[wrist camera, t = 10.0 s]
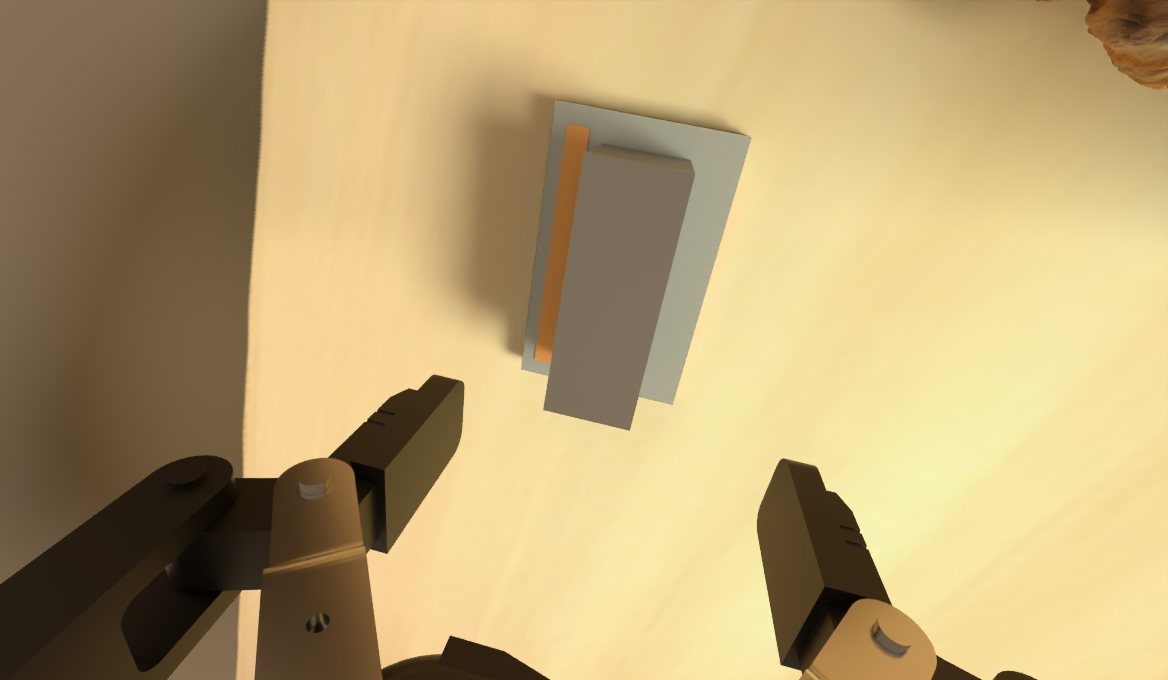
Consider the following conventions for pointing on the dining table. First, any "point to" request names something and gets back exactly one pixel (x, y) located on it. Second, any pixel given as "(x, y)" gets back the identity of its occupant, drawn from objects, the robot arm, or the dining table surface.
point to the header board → (697, 245)
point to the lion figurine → (1133, 37)
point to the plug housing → (615, 280)
